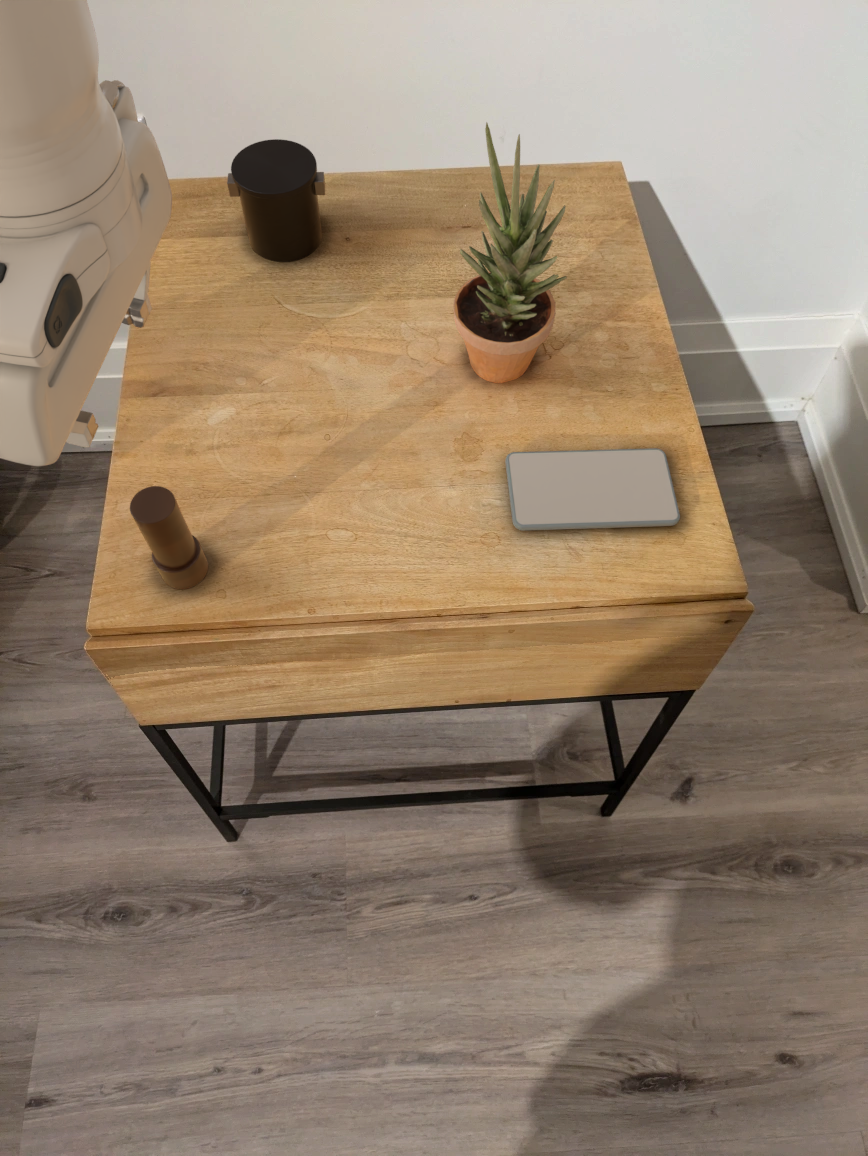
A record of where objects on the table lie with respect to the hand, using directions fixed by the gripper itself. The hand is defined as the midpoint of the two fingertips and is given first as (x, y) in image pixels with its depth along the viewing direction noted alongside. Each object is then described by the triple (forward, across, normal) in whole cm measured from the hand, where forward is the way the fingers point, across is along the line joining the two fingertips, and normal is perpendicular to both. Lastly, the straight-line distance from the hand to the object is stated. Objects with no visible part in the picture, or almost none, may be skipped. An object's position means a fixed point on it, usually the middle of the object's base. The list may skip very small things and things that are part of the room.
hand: (109, 374), depth 53 cm
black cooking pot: (+26, -39, -1) cm, 47 cm away
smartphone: (+20, -12, +35) cm, 42 cm away
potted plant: (+22, -26, +25) cm, 42 cm away
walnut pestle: (+23, +3, +2) cm, 23 cm away
